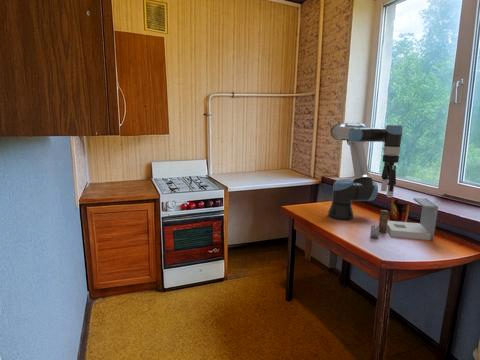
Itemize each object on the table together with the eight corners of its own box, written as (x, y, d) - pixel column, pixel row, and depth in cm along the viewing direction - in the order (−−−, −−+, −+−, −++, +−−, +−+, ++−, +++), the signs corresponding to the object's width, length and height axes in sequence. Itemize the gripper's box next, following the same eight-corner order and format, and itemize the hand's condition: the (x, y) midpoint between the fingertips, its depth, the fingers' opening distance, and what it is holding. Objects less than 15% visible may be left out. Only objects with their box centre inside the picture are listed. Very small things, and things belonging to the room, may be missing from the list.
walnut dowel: (377, 230, 166) (379, 209, 164) (385, 230, 165) (387, 210, 163) (379, 232, 162) (381, 211, 160) (387, 233, 161) (389, 212, 159)
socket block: (383, 226, 173) (387, 196, 169) (422, 229, 168) (426, 198, 165) (390, 236, 157) (394, 203, 154) (433, 240, 153) (438, 206, 149)
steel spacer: (369, 235, 158) (370, 225, 157) (377, 236, 157) (378, 225, 156) (370, 238, 154) (372, 227, 153) (379, 239, 153) (380, 228, 152)
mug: (402, 225, 174) (404, 206, 171) (386, 218, 187) (388, 199, 185) (416, 224, 176) (418, 205, 173) (399, 217, 189) (401, 199, 187)
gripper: (378, 151, 168) (374, 188, 172) (389, 157, 144) (384, 199, 148) (392, 152, 166) (388, 189, 170) (406, 157, 142) (400, 200, 147)
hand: (386, 194), depth 159 cm, fingers open, 13 cm apart
